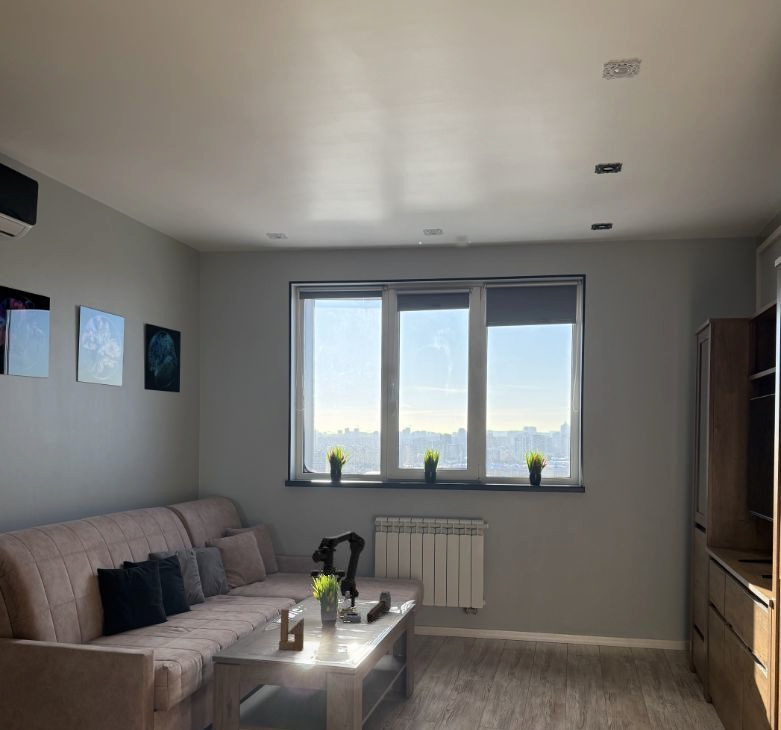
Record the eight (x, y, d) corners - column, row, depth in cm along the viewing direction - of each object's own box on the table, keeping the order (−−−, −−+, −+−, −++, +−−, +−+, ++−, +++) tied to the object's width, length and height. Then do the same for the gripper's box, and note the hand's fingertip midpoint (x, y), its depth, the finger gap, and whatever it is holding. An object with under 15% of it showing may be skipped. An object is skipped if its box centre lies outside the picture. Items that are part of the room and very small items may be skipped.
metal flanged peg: (343, 614, 434) (344, 590, 435) (350, 615, 434) (351, 590, 435) (343, 616, 430) (343, 592, 431) (350, 616, 430) (351, 592, 431)
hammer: (374, 629, 417) (391, 610, 446) (373, 608, 417) (390, 590, 446) (365, 629, 419) (382, 609, 447) (364, 608, 418) (382, 589, 447)
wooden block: (301, 651, 363) (302, 610, 364) (278, 649, 365) (279, 609, 366) (303, 649, 366) (304, 609, 368) (281, 647, 368) (282, 607, 370)
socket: (344, 618, 426) (344, 612, 427) (360, 618, 427) (361, 612, 427) (343, 622, 417) (343, 616, 418) (360, 622, 418) (360, 616, 418)
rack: (340, 614, 436) (340, 608, 436) (354, 614, 436) (354, 608, 436) (339, 617, 428) (339, 611, 428) (354, 617, 428) (354, 611, 428)
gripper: (310, 562, 431) (309, 592, 429) (344, 563, 431) (344, 592, 430) (311, 559, 442) (311, 588, 440) (345, 559, 442) (345, 588, 441)
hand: (327, 589), depth 438 cm, fingers open, 9 cm apart
